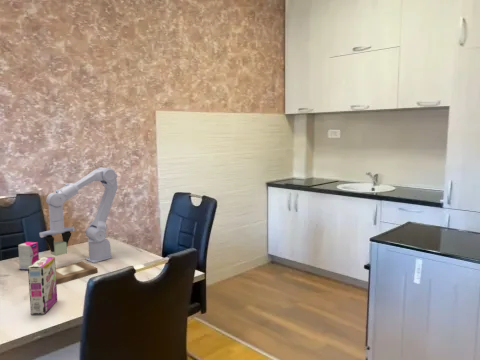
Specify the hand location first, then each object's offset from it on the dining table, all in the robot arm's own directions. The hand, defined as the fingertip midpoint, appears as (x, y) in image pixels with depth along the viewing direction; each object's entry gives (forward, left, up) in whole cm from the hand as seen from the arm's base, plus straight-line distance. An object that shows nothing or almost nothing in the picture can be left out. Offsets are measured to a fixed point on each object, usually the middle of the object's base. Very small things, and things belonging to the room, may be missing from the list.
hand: (58, 249), depth 174 cm
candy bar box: (+21, +36, -9) cm, 43 cm away
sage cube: (0, 0, -2) cm, 2 cm away
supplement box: (+9, -11, -9) cm, 16 cm away
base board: (+1, +11, -8) cm, 14 cm away
